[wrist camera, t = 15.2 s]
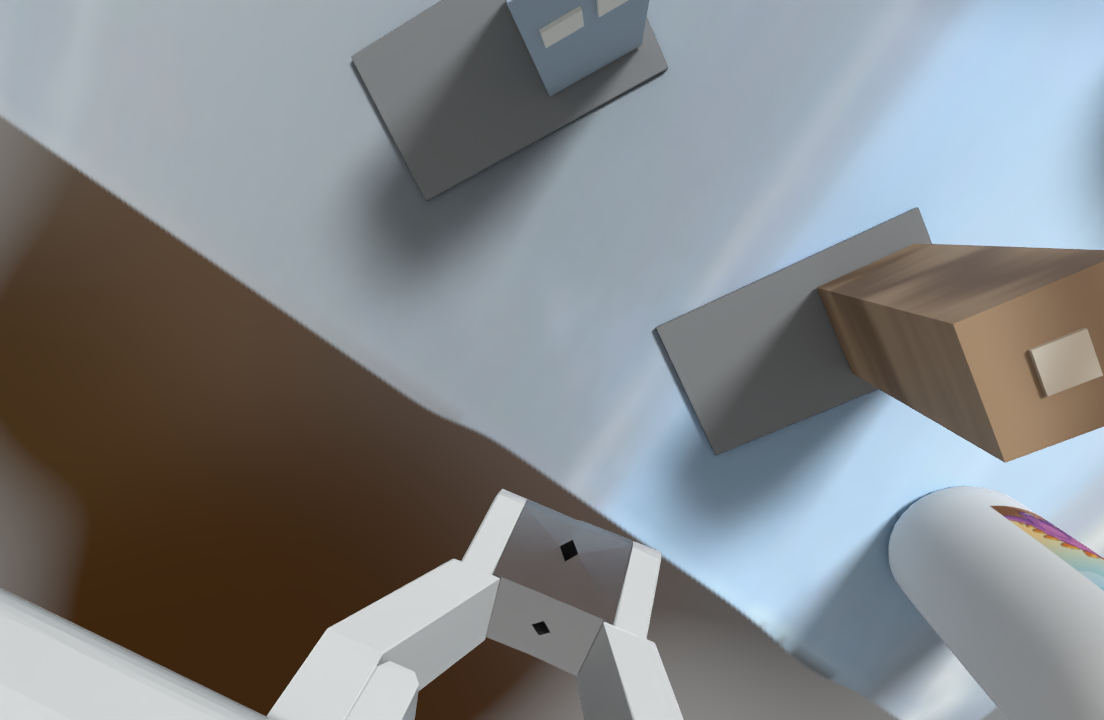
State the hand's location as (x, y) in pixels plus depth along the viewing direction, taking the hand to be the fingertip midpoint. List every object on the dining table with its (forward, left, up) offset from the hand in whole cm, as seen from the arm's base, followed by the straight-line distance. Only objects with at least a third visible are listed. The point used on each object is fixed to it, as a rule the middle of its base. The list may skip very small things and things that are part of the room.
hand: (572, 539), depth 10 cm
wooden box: (+13, +7, -22) cm, 26 cm away
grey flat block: (-10, +11, -22) cm, 26 cm away
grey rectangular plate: (+10, +4, -22) cm, 24 cm away
